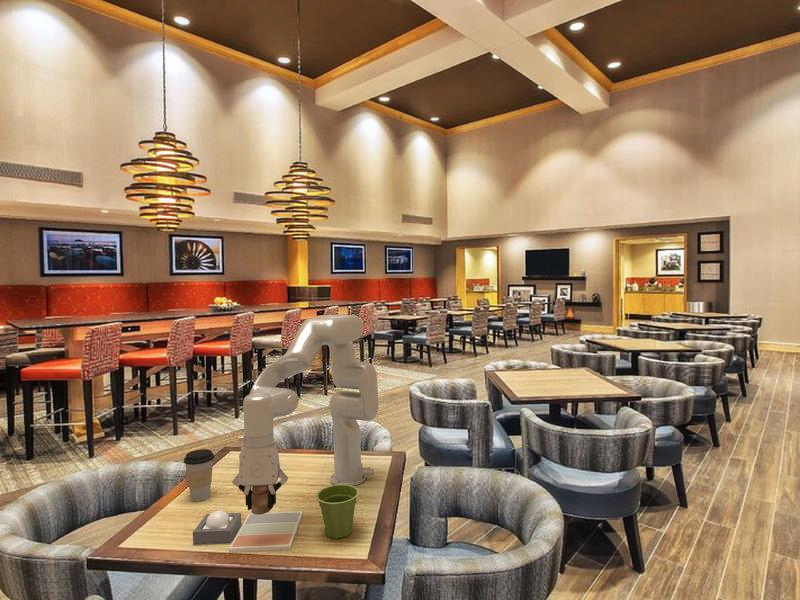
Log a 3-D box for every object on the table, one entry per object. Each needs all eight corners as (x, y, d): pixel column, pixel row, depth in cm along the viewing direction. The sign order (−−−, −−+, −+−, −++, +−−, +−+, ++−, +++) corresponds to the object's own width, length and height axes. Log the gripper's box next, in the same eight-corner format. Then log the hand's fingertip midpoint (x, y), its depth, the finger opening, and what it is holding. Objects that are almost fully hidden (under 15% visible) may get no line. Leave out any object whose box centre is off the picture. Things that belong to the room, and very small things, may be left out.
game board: (302, 514, 143) (302, 510, 143) (290, 549, 124) (290, 545, 124) (249, 516, 143) (249, 513, 143) (228, 552, 124) (228, 548, 124)
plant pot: (321, 522, 138) (320, 484, 138) (362, 521, 138) (361, 483, 137) (313, 544, 126) (311, 503, 126) (357, 544, 126) (356, 502, 126)
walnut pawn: (272, 505, 129) (271, 475, 129) (268, 514, 124) (267, 482, 124) (254, 506, 129) (253, 475, 129) (249, 514, 124) (248, 483, 124)
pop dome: (233, 527, 136) (232, 505, 136) (226, 539, 130) (225, 516, 130) (210, 528, 136) (210, 506, 136) (202, 540, 130) (201, 517, 129)
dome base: (241, 524, 138) (241, 512, 138) (230, 543, 128) (230, 530, 128) (206, 526, 138) (206, 514, 138) (193, 544, 128) (192, 532, 128)
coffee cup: (186, 507, 150) (184, 460, 149) (184, 495, 158) (182, 451, 158) (217, 500, 154) (215, 454, 154) (214, 489, 163) (212, 446, 162)
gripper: (222, 446, 122) (224, 515, 123) (288, 443, 123) (290, 512, 123) (231, 437, 130) (233, 502, 130) (293, 434, 130) (295, 500, 131)
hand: (261, 506), depth 127 cm, fingers closed on walnut pawn, 4 cm apart
